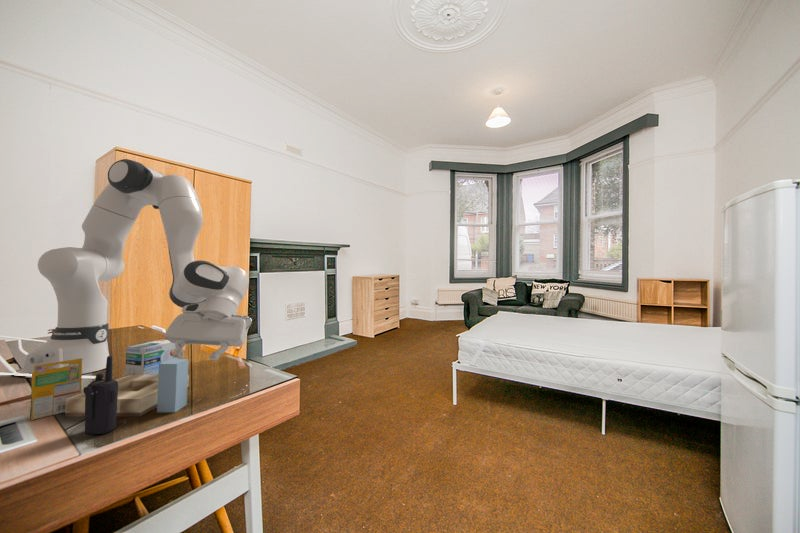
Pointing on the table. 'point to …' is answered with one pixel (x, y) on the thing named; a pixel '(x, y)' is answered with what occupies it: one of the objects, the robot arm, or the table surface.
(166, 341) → the light bulb box
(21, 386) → the table surface
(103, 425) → the two-way radio
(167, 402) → the post
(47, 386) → the crayon box
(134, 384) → the pocket block
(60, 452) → the table surface
